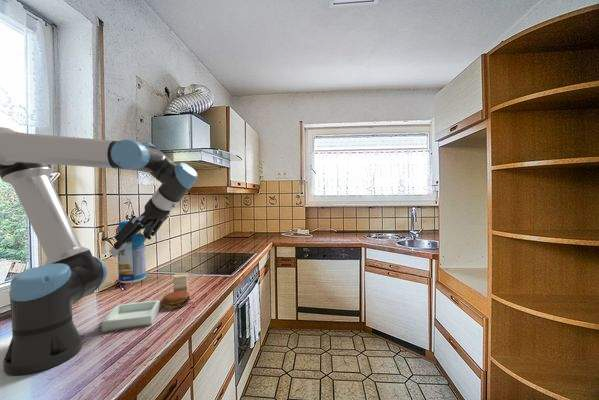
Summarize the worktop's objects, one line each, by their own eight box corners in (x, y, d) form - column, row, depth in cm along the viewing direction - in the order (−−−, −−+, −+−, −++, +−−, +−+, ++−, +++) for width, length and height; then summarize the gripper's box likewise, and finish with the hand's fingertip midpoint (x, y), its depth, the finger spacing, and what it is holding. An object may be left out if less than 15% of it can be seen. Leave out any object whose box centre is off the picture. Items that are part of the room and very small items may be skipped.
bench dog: (187, 297, 114) (186, 275, 113) (173, 298, 112) (173, 276, 112) (188, 293, 118) (187, 272, 118) (175, 294, 117) (175, 273, 117)
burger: (156, 308, 103) (156, 296, 103) (172, 299, 112) (172, 288, 112) (179, 311, 101) (179, 298, 101) (194, 301, 110) (194, 289, 110)
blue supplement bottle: (148, 280, 93) (145, 221, 93) (118, 285, 89) (115, 223, 88) (145, 274, 100) (143, 219, 100) (117, 279, 96) (115, 221, 95)
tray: (151, 324, 90) (151, 315, 90) (101, 331, 86) (101, 322, 86) (160, 307, 104) (160, 299, 104) (117, 313, 100) (117, 304, 100)
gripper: (144, 214, 80) (102, 267, 85) (188, 209, 100) (152, 252, 105) (128, 196, 81) (87, 249, 86) (175, 195, 101) (140, 238, 106)
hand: (123, 251), depth 95 cm, fingers closed on blue supplement bottle, 8 cm apart
